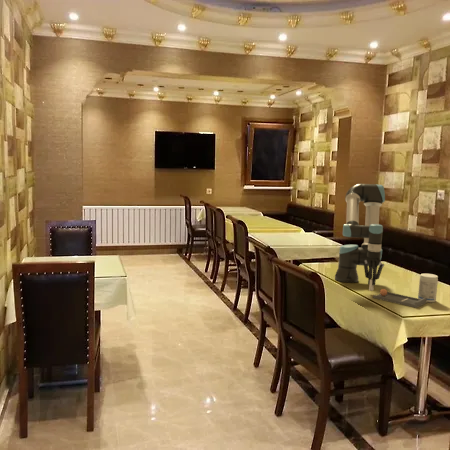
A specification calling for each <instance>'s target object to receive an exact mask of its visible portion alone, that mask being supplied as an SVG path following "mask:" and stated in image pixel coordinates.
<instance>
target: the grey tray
mask: <svg viewBox="0 0 450 450" xmlns="http://www.w3.org/2000/svg"><path fill="white" fill-rule="evenodd" d="M376 298H377V300H380V299H381V301H384V302H385V301H386V302H390V303H393V304H394V303H395V304H397V305H398V304H399V305H403V306H406V307H410V308H411V307H412V308H415V309H416V308H419V307H421V306H423V305H426V304H427V302H426V299H427V298H423V299H418V297H417V298H416V297H412V296H408V295H404V294H399V293H395V292H390V291H387V295H386V296H382V295H381V294H380V293H379V294H373V295H372V299H376Z"/></svg>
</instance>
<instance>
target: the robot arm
mask: <svg viewBox="0 0 450 450" xmlns="http://www.w3.org/2000/svg"><path fill="white" fill-rule="evenodd" d="M385 193H386V192H385V187H384V185H383V184H377V183H376V184H375V183H356V184H354V185H352V186H351V187H350V188H349V189H348V190H347V191H346V193H345V202H346V220H345V223H344V224H343V225H342V226H343V227H342V236H343V237H347V238H361V239H363V243H362V244H361V247H359V245H358V244H344V245H341V246H340V247H339V252H338V255H339V256H338V266H337V270H336V272H335V275H334V280H335V279H336V280H335V281H337V280H338V281H337V282H340V283H341V282H342V283H357V282H359V275H358V271H357V267H358V266H363V268H364V269H363V270H364V274H365V275H364V277H365V278H366V279H368V280H367V284H368V285H369V287H368V291H370V292H372V291H374V290H375V289H374V288H375V285H376V283H377V282H376V281H377V280H379V279H380V276H381V274H382V270H383V268H384V266H385V264H384V263H382V261H381V260H382V255H383V249H382V241H383V232H384V226H383V225H382V224H380V223H379V222H380V210H381V209H380V208H381V207H382V206H383V203H385V202H386V194H385ZM360 202H363V205H364V206H365V220H364V221H365V222H364V225H363V224H362V225H361V224H359V223H360V219H359V218H360Z"/></svg>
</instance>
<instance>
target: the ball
mask: <svg viewBox="0 0 450 450" xmlns="http://www.w3.org/2000/svg"><path fill="white" fill-rule="evenodd" d="M387 292H388V290H387V289H385V288H382V289H380V290H379V294H381V295H382V296H386V295H387Z"/></svg>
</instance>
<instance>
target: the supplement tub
mask: <svg viewBox="0 0 450 450" xmlns="http://www.w3.org/2000/svg"><path fill="white" fill-rule="evenodd" d="M438 278H439V276H438V275H436V274H433V273H421V274H420V275H419V281H418V282H419V284H418V294H417V298H418V299H423V298H427V299H426V303H435V302H437V292H438V282H439V279H438Z"/></svg>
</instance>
